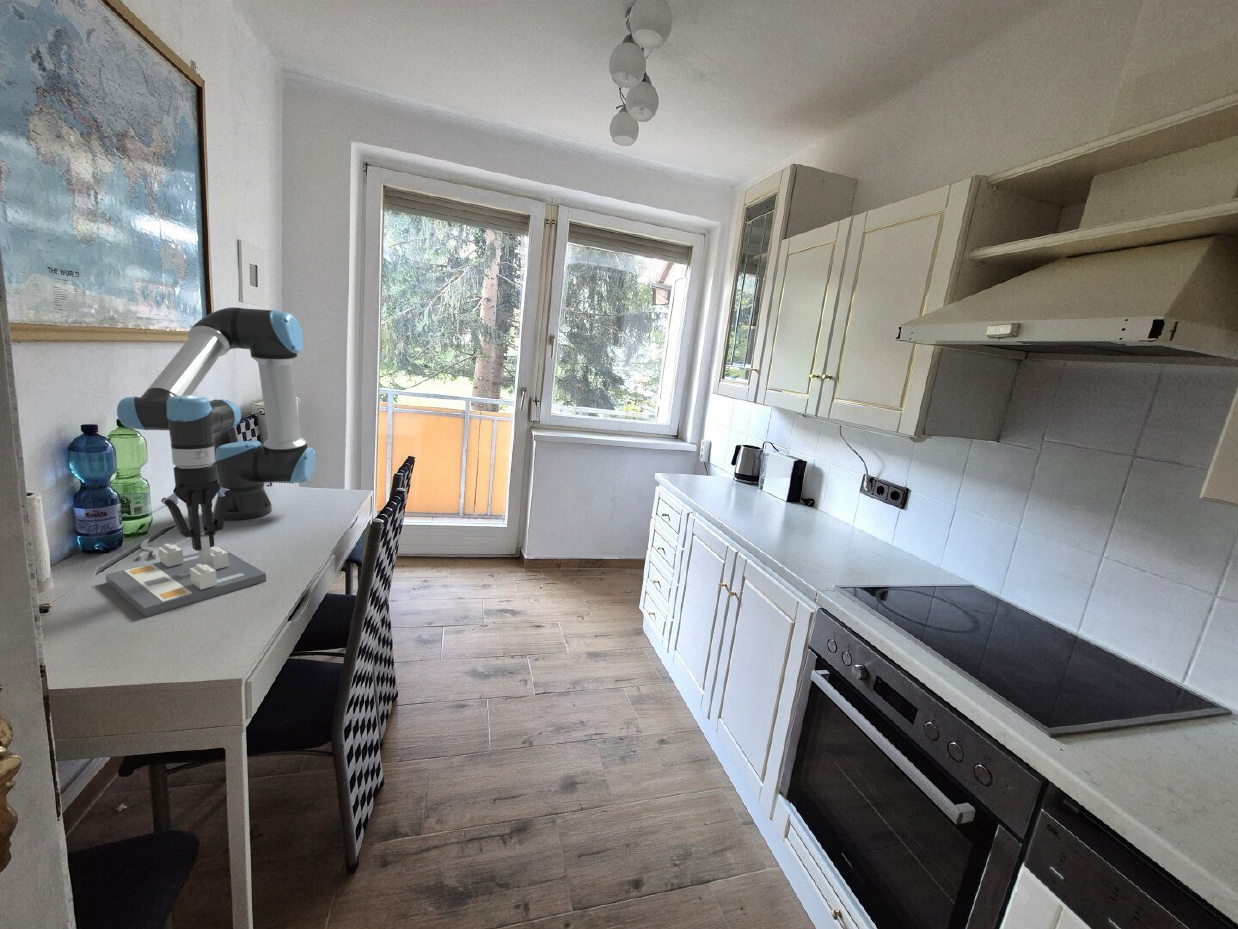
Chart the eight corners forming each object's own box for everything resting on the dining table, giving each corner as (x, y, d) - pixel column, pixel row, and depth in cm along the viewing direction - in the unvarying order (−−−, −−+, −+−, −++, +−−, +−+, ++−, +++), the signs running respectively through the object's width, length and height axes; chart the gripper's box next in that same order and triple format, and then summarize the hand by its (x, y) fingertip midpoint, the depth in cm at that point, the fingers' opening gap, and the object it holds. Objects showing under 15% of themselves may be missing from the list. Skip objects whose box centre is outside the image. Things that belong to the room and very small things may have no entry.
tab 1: (175, 557, 124) (173, 541, 123) (183, 563, 122) (182, 547, 121) (159, 561, 122) (157, 545, 121) (167, 567, 119) (166, 550, 118)
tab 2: (220, 560, 125) (218, 544, 124) (229, 566, 122) (227, 550, 121) (205, 564, 122) (203, 548, 121) (214, 569, 120) (212, 553, 119)
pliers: (191, 533, 142) (171, 553, 129) (192, 538, 142) (172, 559, 129) (145, 536, 138) (120, 557, 125) (146, 541, 138) (121, 563, 125)
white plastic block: (207, 578, 115) (205, 561, 114) (217, 585, 113) (215, 568, 112) (191, 583, 113) (189, 566, 112) (200, 589, 110) (199, 572, 109)
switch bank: (221, 554, 133) (220, 546, 133) (266, 581, 121) (265, 572, 120) (106, 582, 115) (105, 573, 114) (145, 617, 102) (144, 607, 102)
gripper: (164, 472, 108) (177, 574, 113) (235, 463, 118) (244, 557, 123) (151, 465, 111) (163, 565, 116) (221, 458, 122) (230, 549, 127)
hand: (205, 561), depth 120 cm, fingers closed
